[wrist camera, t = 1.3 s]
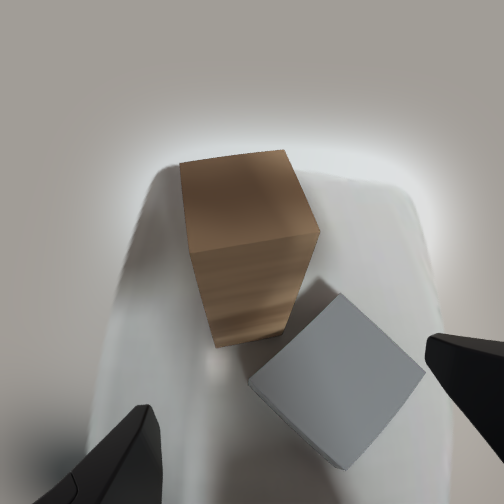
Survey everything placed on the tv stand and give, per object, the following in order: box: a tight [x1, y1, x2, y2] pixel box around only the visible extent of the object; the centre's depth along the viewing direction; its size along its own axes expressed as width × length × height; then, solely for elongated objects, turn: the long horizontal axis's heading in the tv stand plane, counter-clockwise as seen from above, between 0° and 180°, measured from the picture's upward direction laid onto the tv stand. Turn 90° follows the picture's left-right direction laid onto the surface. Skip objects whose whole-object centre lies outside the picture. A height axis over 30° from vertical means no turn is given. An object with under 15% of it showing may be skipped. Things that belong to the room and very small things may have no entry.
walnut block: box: [180, 150, 320, 348], centre depth 18 cm, size 5×5×13 cm
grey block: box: [248, 293, 426, 471], centre depth 20 cm, size 9×9×2 cm
